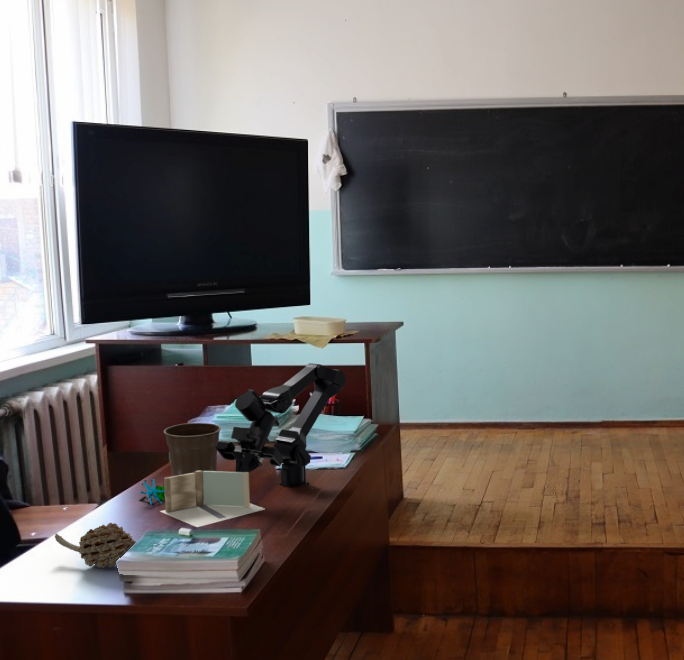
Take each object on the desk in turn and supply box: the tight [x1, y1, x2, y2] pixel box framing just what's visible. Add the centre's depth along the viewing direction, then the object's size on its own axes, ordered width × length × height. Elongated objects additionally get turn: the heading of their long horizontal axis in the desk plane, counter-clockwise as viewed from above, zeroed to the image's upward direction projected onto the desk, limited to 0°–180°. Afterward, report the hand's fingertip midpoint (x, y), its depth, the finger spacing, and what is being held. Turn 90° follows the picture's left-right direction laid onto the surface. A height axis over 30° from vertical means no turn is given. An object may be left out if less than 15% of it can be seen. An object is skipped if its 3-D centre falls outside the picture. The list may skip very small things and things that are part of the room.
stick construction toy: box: [138, 478, 165, 506], centre depth 263 cm, size 12×7×8 cm
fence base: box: [163, 470, 204, 512], centre depth 255 cm, size 11×2×9 cm, turn 123°
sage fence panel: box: [203, 470, 251, 507], centre depth 255 cm, size 12×1×9 cm, turn 78°
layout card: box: [159, 502, 265, 528], centre depth 253 cm, size 21×18×1 cm
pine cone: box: [54, 522, 137, 569], centre depth 215 cm, size 22×10×10 cm, turn 71°
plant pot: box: [163, 422, 222, 488], centre depth 279 cm, size 16×16×16 cm
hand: (236, 480), depth 255 cm, fingers closed
